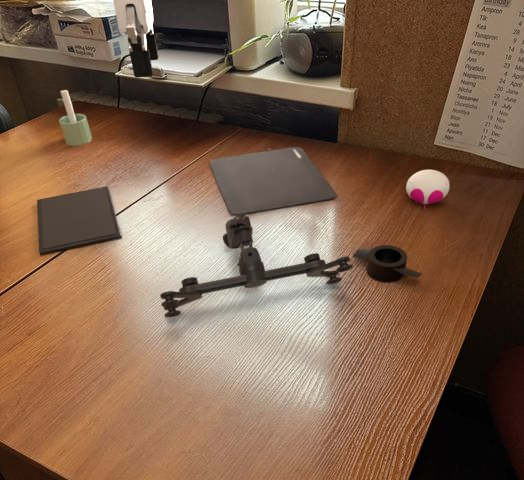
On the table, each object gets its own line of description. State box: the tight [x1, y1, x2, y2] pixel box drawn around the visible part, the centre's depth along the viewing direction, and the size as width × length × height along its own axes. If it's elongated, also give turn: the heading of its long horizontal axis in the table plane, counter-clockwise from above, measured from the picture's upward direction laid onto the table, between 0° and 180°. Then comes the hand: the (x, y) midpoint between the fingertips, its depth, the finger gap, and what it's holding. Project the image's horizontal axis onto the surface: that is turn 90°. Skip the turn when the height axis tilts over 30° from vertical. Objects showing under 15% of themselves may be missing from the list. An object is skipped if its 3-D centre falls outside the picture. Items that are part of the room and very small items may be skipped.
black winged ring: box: [352, 244, 422, 283], centre depth 78 cm, size 8×10×3 cm
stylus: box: [60, 89, 77, 123], centre depth 117 cm, size 2×2×11 cm
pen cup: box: [58, 113, 93, 147], centre depth 119 cm, size 6×6×6 cm
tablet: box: [36, 185, 122, 257], centre depth 94 cm, size 20×14×1 cm
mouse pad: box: [209, 146, 337, 216], centre depth 103 cm, size 25×21×1 cm
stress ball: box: [405, 169, 451, 210], centre depth 92 cm, size 8×8×7 cm
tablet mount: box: [159, 212, 354, 318], centre depth 77 cm, size 27×14×17 cm
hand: (147, 67), depth 90 cm, fingers open, 9 cm apart
